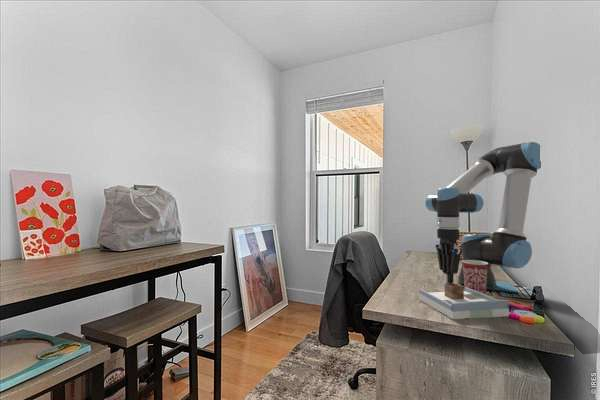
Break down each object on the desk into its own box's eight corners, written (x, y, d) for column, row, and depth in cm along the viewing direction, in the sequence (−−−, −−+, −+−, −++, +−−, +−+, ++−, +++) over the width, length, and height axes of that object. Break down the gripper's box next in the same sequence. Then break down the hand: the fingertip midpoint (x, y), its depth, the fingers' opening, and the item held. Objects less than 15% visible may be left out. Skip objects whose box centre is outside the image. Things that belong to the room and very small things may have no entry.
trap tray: (466, 297, 116) (466, 284, 116) (509, 316, 96) (508, 300, 96) (419, 299, 113) (419, 286, 113) (452, 319, 93) (452, 303, 93)
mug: (491, 300, 112) (490, 264, 112) (464, 297, 115) (463, 263, 116) (484, 291, 123) (484, 259, 124) (460, 289, 127) (460, 257, 127)
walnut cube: (455, 295, 110) (455, 283, 110) (463, 298, 106) (463, 286, 106) (444, 295, 110) (444, 283, 110) (452, 299, 105) (452, 286, 105)
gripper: (429, 227, 117) (429, 286, 117) (449, 229, 104) (450, 296, 104) (446, 226, 118) (447, 285, 117) (469, 229, 105) (469, 295, 105)
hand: (448, 290), depth 111 cm, fingers closed
